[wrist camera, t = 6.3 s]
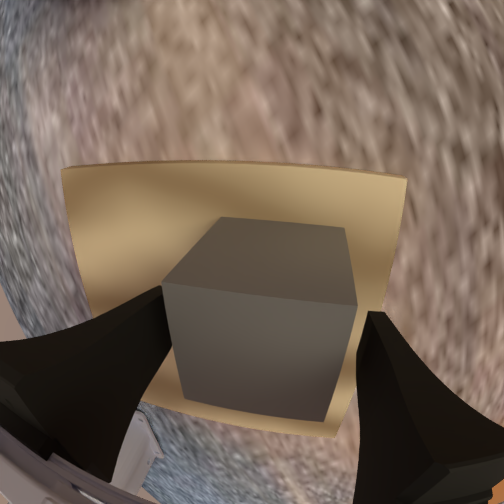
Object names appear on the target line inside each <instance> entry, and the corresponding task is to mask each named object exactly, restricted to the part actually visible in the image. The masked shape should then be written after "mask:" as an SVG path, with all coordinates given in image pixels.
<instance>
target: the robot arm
mask: <svg viewBox="0 0 504 504" xmlns="http://www.w3.org/2000/svg"><path fill="white" fill-rule="evenodd" d="M171 347H172V341H171V336H170V331H169V326H168V320H167V314H166V309H165V303H164V297H163V290H162V286H161V285H158V286H156V287H154V288H152V289H150V290H148V291H146V292H144V293H142V294H140V295H138V296H136V297H134V298H132V299H131V300H129V301H127V302H125V303H123V304H121V305H119V306H117V307H116V308H114V309H111V310H109V311H107V312H105V313H103V314H101V315H99V316H97V317H95V318H93V319H91V320H88V321H86V322H84V323H81V324H78V325H76V326H73V327H70V328H67V329H64V330H61V331H57V332H54V333H51V334H47V335H43V336H38V337H34V338H28V339H23V340H14V341H5V342H0V493H1V494H2V495H3V496H4V497H5V499H6V500H7V501H8V504H156V503H153V502H150V501H148V500H145V499H143V498H140V497H138V496H136V495H137V493H138V491H139V489H140V487H141V485H142V483H143V481H144V479H145V477H146V475H147V473H148V471H149V469H150V467H151V465H152V463H153V461H154V459H155V457H158V458H161V459H163V458H164V454H163V452H162V450H161V448H160V446H159V444H158V442H157V440H156V438H155V436H154V434H153V432H152V429H151V427H150V425H149V423H148V421H147V418H146V416H145V415H144V414H143V413H142V412H140V411H137V410H136V409H137V406H138V404H139V402H140V400H141V398H142V396H143V394H144V392H145V391H146V389H147V387H148V386H149V384H150V382H151V381H152V379H153V378H154V376H155V374H156V373H157V371H158V370H159V368H160V366H161V365H162V363H163V361H164V360H165V358H166V356H167V355H168V353H169V351H170V350H171ZM356 386H357V396H358V408H359V420H360V448H359V461H358V470H357V479H356V486H355V492H354V498H353V504H488V500H490V499H491V498H492V497H493V494H492V487H494V486H495V485H496V484H498V483H499V482H500V481H502V480H503V479H504V427H502V426H500V425H498V424H496V423H495V422H493V421H491V420H489V419H488V418H486V417H485V416H483V415H482V414H480V413H479V412H477V411H476V410H475V409H473V408H472V407H471V406H469V405H468V404H467V403H465V402H464V401H463V400H462V399H460V398H459V397H458V396H457V395H456V394H454V393H453V392H452V391H451V390H450V389H449V388H448V387H447V386H446V385H444V384H443V383H442V382H441V381H440V380H439V379H438V378H437V377H436V376H435V375H434V374H433V373H432V371H431V370H430V369H429V368H428V367H427V366H426V365H425V364H424V362H423V361H422V360H421V359H420V358H419V357H418V356H417V354H416V353H415V352H414V351H413V349H412V348H411V347H410V346H409V344H408V343H407V342H406V340H405V339H404V338H403V336H402V335H401V334H400V332H399V331H398V330H397V328H396V327H395V326H394V324H393V323H392V321H391V320H390V319H389V317H388V316H387V315H386V313H385V312H380V311H368V313H367V316H366V320H365V324H364V328H363V331H362V335H361V338H360V342H359V345H358V349H357V352H356ZM499 504H504V501H503V502H501V503H499Z"/></svg>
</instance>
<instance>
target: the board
mask: <svg viewBox="0 0 504 504" xmlns="http://www.w3.org/2000/svg"><path fill="white" fill-rule="evenodd" d="M61 177H62V185H63V192H64V198H65V204H66V210H67V216H68V221H69V227H70V232H71V237H72V241H73V246H74V250H75V255H76V259H77V263H78V267H79V271H80V275H81V278H82V282H83V286H84V289H85V293H86V296H87V299H88V303H89V306H90V309H91V312H92V316H93V318H95V317H97V316H99V315H101V314H103V313H105V312H107V311H109V310H111V309H114V308H116V307H117V306H119V305H121V304H123V303H125V302H127V301H129V300H131V299H132V298H134V297H136V296H138V295H140V294H142V293H144V292H146V291H148V290H150V289H152V288H154V287H156V286H158V285H161V286H162V284H161V281H162V280H163V279H164V278H165V277H166V276H167V275H168V273H169V272H170V271H171V270H172V269H173V268H174V267H175V266H176V265H177V264H178V262H179V261H180V260H181V259H182V258H183V257H184V256H185V255H186V254H187V253H188V252H189V250H190V249H191V248H192V247H193V246H194V245H195V244H196V243H197V242H198V241H199V240H200V239H201V238H202V237H203V235H204V234H205V233H206V232H207V231H208V230H209V229H210V228H211V227H212V226H213V225H214V224H215V223H216V222H217V221H218V220H219V219H220V217H234V218H247V219H259V220H271V221H282V222H293V223H304V224H314V225H324V226H334V227H344V228H345V233H346V238H347V243H348V249H349V254H350V260H351V265H352V271H353V277H354V283H355V290H356V296H357V303H358V308H357V312H356V316H355V320H354V324H353V328H352V332H351V336H350V340H349V343H348V347H347V351H346V354H345V358H344V361H343V365H342V368H341V371H340V375H339V378H338V381H337V384H336V388H335V391H334V394H333V397H332V400H331V403H330V406H329V409H328V412H327V414H326V417H325V420H324V422H315V421H305V420H296V419H287V418H280V417H272V416H266V415H259V414H253V413H248V412H242V411H237V410H231V409H226V408H222V407H217V406H212V405H208V404H204V403H199V402H195V401H191V400H187V399H184V396H183V392H182V387H181V383H180V379H179V374H178V370H177V365H176V361H175V356H174V351H173V346H172V347H171V350H170V351H169V353H168V355H167V356H166V358H165V360H164V361H163V363H162V365H161V366H160V368H159V370H158V371H157V373H156V374H155V376H154V378H153V379H152V381H151V382H150V384H149V386H148V387H147V389H146V391H145V392H144V394H143V396H142V398H141V400H140V401H143V402H147V403H150V404H153V405H156V406H159V407H163V408H166V409H169V410H173V411H177V412H180V413H184V414H188V415H192V416H195V417H200V418H204V419H208V420H212V421H217V422H221V423H226V424H231V425H236V426H241V427H247V428H253V429H259V430H265V431H272V432H279V433H286V434H295V435H304V436H315V437H328V438H335V436H336V434H337V432H338V429H339V427H340V425H341V422H342V420H343V418H344V415H345V413H346V411H347V408H348V406H349V403H350V401H351V398H352V395H353V393H354V390H355V388H356V352H357V349H358V345H359V342H360V338H361V335H362V331H363V328H364V324H365V320H366V316H367V313H368V311H381V308H382V304H383V300H384V297H385V293H386V289H387V285H388V281H389V277H390V272H391V268H392V264H393V259H394V254H395V250H396V245H397V240H398V235H399V229H400V224H401V218H402V212H403V206H404V199H405V192H406V185H407V179H406V178H405V177H404V176H402V175H396V174H389V173H381V172H374V171H366V170H357V169H349V168H339V167H329V166H318V165H305V164H291V163H275V162H254V161H217V160H179V161H143V162H122V163H106V164H93V165H81V166H71V167H67V168H64V169H61Z"/></svg>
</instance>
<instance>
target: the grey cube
mask: <svg viewBox="0 0 504 504" xmlns="http://www.w3.org/2000/svg"><path fill="white" fill-rule="evenodd" d="M161 284H162V290H163V297H164V303H165V309H166V314H167V320H168V326H169V331H170V336H171V341H172V346H173V351H174V356H175V361H176V365H177V370H178V374H179V379H180V383H181V387H182V392H183V396H184V399H187V400H191V401H195V402H199V403H204V404H208V405H212V406H217V407H222V408H226V409H231V410H237V411H242V412H248V413H253V414H259V415H266V416H272V417H280V418H287V419H296V420H305V421H315V422H324V420H325V417H326V414H327V412H328V409H329V406H330V403H331V400H332V397H333V394H334V391H335V388H336V384H337V381H338V378H339V375H340V371H341V368H342V365H343V361H344V358H345V354H346V351H347V347H348V343H349V340H350V336H351V332H352V328H353V324H354V320H355V316H356V312H357V308H358V303H357V296H356V290H355V283H354V277H353V271H352V265H351V260H350V254H349V249H348V243H347V238H346V233H345V228H344V227H334V226H324V225H314V224H304V223H293V222H282V221H271V220H259V219H247V218H234V217H220V219H219V220H218V221H217V222H216V223H215V224H214V225H213V226H212V227H211V228H210V229H209V230H208V231H207V232H206V233H205V234H204V235H203V237H202V238H201V239H200V240H199V241H198V242H197V243H196V244H195V245H194V246H193V247H192V248H191V249H190V250H189V252H188V253H187V254H186V255H185V256H184V257H183V258H182V259H181V260H180V261H179V262H178V264H177V265H176V266H175V267H174V268H173V269H172V270H171V271H170V272H169V273H168V275H167V276H166V277H165V278H164V279H163V280H162V281H161Z"/></svg>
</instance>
